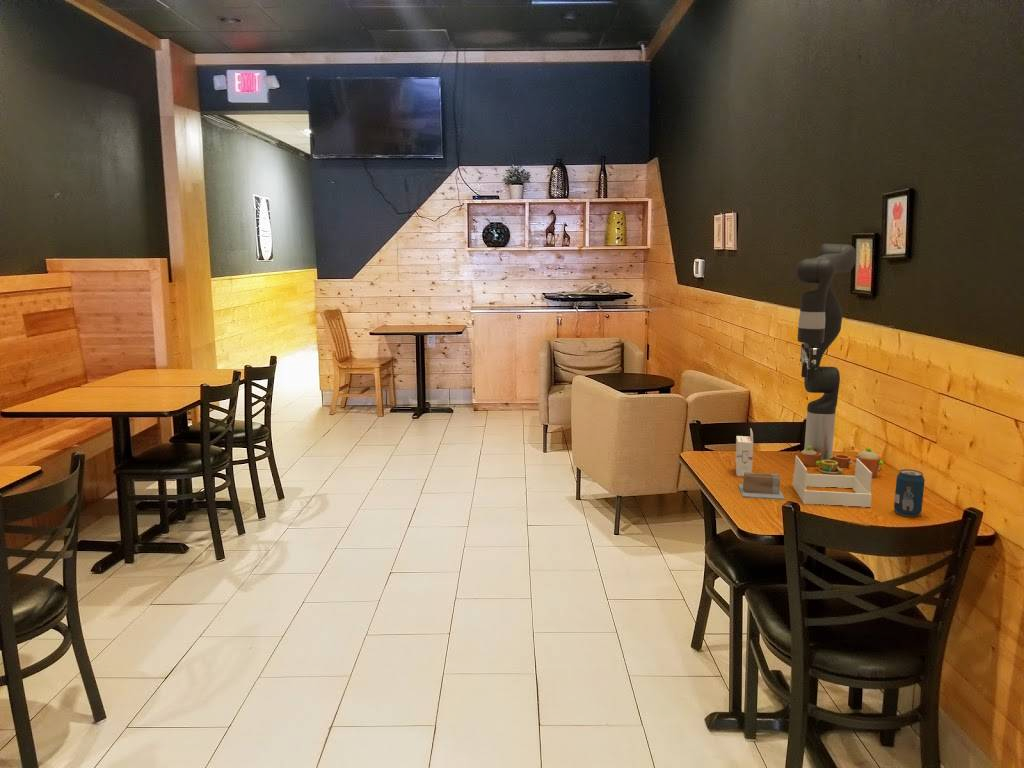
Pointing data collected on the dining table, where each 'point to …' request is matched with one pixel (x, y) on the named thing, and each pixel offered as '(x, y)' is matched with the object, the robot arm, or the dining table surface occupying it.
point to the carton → (857, 482)
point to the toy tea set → (842, 461)
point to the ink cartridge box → (744, 454)
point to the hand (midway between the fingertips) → (807, 379)
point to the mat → (760, 494)
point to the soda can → (909, 492)
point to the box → (761, 483)
